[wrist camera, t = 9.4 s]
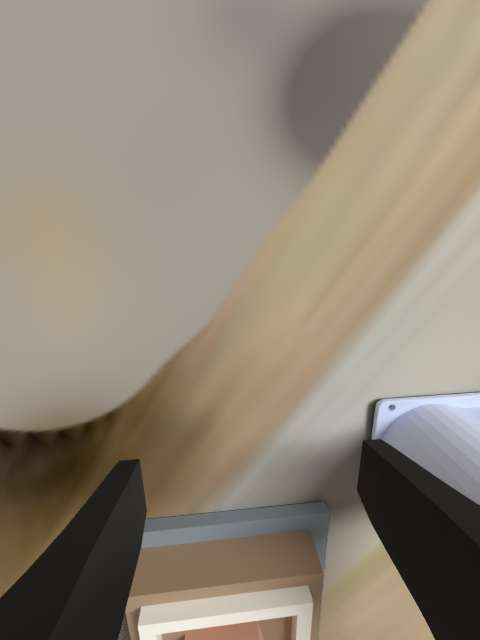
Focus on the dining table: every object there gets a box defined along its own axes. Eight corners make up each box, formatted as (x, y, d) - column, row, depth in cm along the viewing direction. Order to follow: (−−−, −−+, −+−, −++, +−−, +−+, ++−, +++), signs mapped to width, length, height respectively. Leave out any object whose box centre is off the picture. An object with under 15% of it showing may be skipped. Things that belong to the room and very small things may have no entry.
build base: (324, 501, 23) (354, 570, 19) (313, 633, 28) (334, 715, 23) (114, 522, 22) (88, 603, 17) (139, 658, 27) (123, 751, 22)
